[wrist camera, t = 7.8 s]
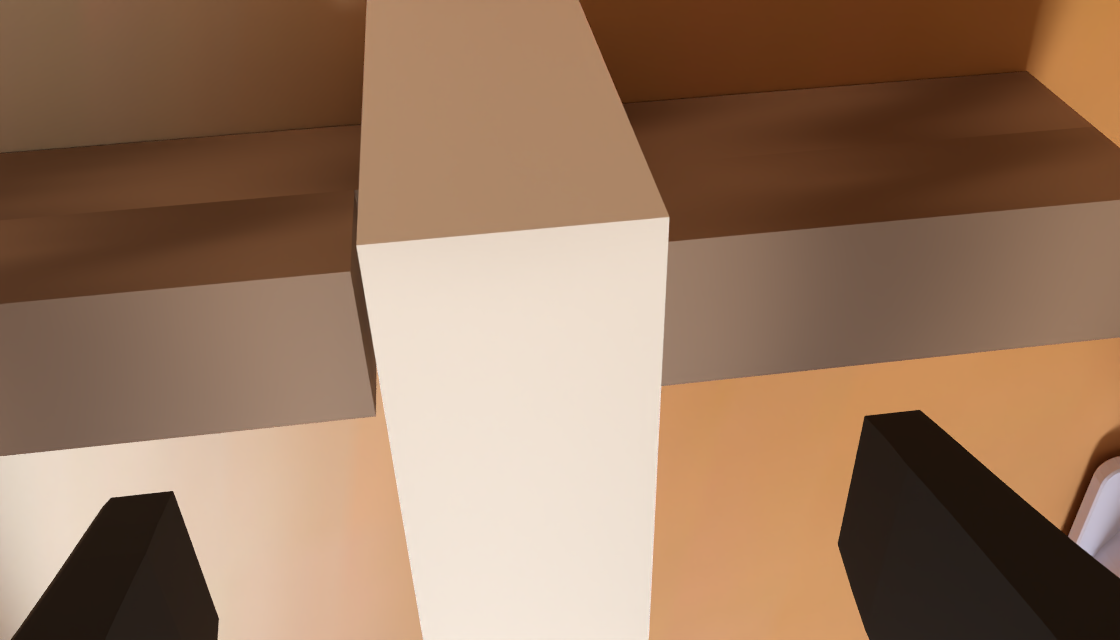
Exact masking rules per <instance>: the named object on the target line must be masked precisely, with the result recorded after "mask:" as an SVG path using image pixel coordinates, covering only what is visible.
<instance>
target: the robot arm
mask: <svg viewBox="0 0 1120 640" xmlns="http://www.w3.org/2000/svg"><path fill="white" fill-rule="evenodd" d="M838 547H839V550H840V553H841V556H842V560H843V563H844V566H845V569H846V573H847V576H848V579H849V582H850V586H851V589H852V592H853V595H854V598H855V601H856V604H857V607H858V610H859V613H860V616H861V619H862V622H863V625H864V628H865V631H866V633H867V635H868V637H869V640H1120V456H1118V457H1114V458H1111V459H1109V460H1107V461H1105V462H1104V463H1102V464H1101V465H1100V466H1099V467H1098V468H1097V470H1096V471H1095V473H1094V475H1093V477H1092V480H1091V482H1090V484H1089V487H1088V489H1087V492H1086V494H1085V496H1084V499H1083V501H1082V504H1081V506H1080V509H1079V511H1078V513H1077V516H1076V518H1075V521H1074V523H1073V526H1072V528H1071V530H1070V533H1069V535H1068V536H1067V535H1065V534H1064V533H1063V532H1062V531H1060V530H1059V529H1058V528H1057V527H1056V526H1054V525H1053V524H1052V523H1051V522H1050V521H1048V520H1047V519H1046V518H1045V517H1044V516H1042V515H1041V514H1040V513H1039V512H1038V511H1036V510H1035V509H1034V508H1033V507H1032V506H1031V505H1029V504H1028V503H1027V502H1026V501H1025V500H1023V499H1022V498H1021V497H1020V496H1019V495H1018V494H1017V493H1015V492H1014V491H1013V490H1012V489H1011V488H1010V487H1008V486H1007V485H1006V484H1005V483H1004V482H1003V481H1001V480H1000V479H999V478H998V477H997V476H996V475H994V474H993V473H992V472H991V471H990V470H989V469H988V468H986V467H985V466H984V465H983V464H982V463H981V462H979V461H978V460H977V459H976V458H975V457H974V456H973V455H971V454H970V453H969V452H968V451H967V450H966V449H965V448H963V447H962V446H961V445H960V444H959V443H958V442H957V441H955V440H954V439H953V438H952V437H951V436H950V435H949V434H947V433H946V432H945V431H944V430H943V429H942V428H940V427H939V426H938V425H937V424H936V423H935V422H933V421H932V420H931V419H930V418H929V417H928V416H926V415H925V414H924V413H923V412H922V411H920V410H915V411H906V412H897V413H887V414H878V415H869V416H865V417H864V422H863V427H862V431H861V436H860V441H859V446H858V450H857V455H856V460H855V465H854V469H853V474H852V479H851V484H850V488H849V493H848V498H847V503H846V507H845V512H844V517H843V522H842V526H841V531H840V536H839V541H838ZM218 622H219V618H218V615H217V612H216V609H215V607H214V604H213V601H212V598H211V596H210V593H209V590H208V587H207V584H206V582H205V579H204V576H203V573H202V570H201V568H200V565H199V562H198V559H197V556H196V554H195V551H194V548H193V545H192V542H191V540H190V537H189V534H188V531H187V529H186V526H185V523H184V520H183V517H182V515H181V512H180V509H179V506H178V503H177V501H176V498H175V495H174V492H173V491H170V492H160V493H151V494H142V495H133V496H124V497H114V498H110V500H109V501H108V502H107V503H106V504H105V505H104V506H103V507H102V509H101V510H100V512H99V513H98V515H97V516H96V517H95V519H94V520H93V522H92V523H91V525H90V526H89V528H88V529H87V531H86V532H85V534H84V535H83V537H82V538H81V540H80V541H79V542H78V544H77V545H76V547H75V548H74V550H73V551H72V553H71V554H70V556H69V557H68V559H67V560H66V562H65V563H64V565H63V566H62V568H61V569H60V570H59V572H58V573H57V575H56V576H55V578H54V579H53V581H52V582H51V584H50V585H49V586H48V588H47V589H46V591H45V592H44V594H43V595H42V596H41V598H40V599H39V601H38V602H37V604H36V605H35V606H34V608H33V609H32V611H31V612H30V614H29V615H28V617H27V618H26V619H25V621H24V622H23V624H22V625H21V626H20V628H19V629H18V630H17V632H16V633H15V635H14V636H13V637H12V639H11V640H217V638H218Z"/></svg>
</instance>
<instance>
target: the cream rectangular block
mask: <svg viewBox="0 0 1120 640" xmlns="http://www.w3.org/2000/svg"><path fill="white" fill-rule="evenodd" d="M668 237H669V215H668V212H667V210H666V208H665V205H664V203H663V200H662V198H661V196H660V193H659V191H658V188H657V186H656V184H655V181H654V179H653V176H652V174H651V172H650V169H649V167H648V164H647V162H646V160H645V157H644V155H643V153H642V150H641V148H640V145H639V143H638V141H637V138H636V136H635V133H634V131H633V129H632V126H631V124H630V121H629V119H628V117H627V114H626V112H625V109H624V107H623V105H622V102H621V100H620V98H619V95H618V93H617V90H616V88H615V86H614V83H613V81H612V78H611V76H610V74H609V71H608V69H607V66H606V64H605V62H604V59H603V57H602V54H601V52H600V50H599V47H598V45H597V43H596V40H595V38H594V35H593V33H592V31H591V28H590V26H589V23H588V21H587V19H586V16H585V14H584V11H583V9H582V7H581V4H580V2H579V0H367V7H366V31H365V54H364V78H363V101H362V124H361V148H360V171H359V195H358V218H357V241H356V246H357V252H358V258H359V264H360V270H361V276H362V282H363V288H364V294H365V300H366V306H367V311H368V317H369V323H370V329H371V335H372V341H373V347H374V353H375V359H376V365H377V371H378V376H379V382H380V388H381V394H382V400H383V406H384V412H385V418H386V424H387V430H388V436H389V441H390V447H391V453H392V459H393V465H394V471H395V477H396V483H397V489H398V495H399V501H400V506H401V512H402V518H403V524H404V530H405V536H406V542H407V548H408V554H409V560H410V565H411V571H412V577H413V583H414V589H415V595H416V601H417V607H418V613H419V619H420V625H421V630H422V636H423V640H649V624H650V603H651V583H652V563H653V542H654V522H655V502H656V481H657V461H658V440H659V420H660V400H661V379H662V359H663V339H664V318H665V298H666V278H667V257H668Z"/></svg>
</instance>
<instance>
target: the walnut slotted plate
mask: <svg viewBox="0 0 1120 640" xmlns="http://www.w3.org/2000/svg"><path fill="white" fill-rule="evenodd" d="M622 105H623V107H624V109H625V112H626V114H627V117H628V119H629V121H630V124H631V126H632V129H633V131H634V133H635V136H636V138H637V141H638V143H639V145H640V148H641V150H642V153H643V155H644V157H645V160H646V162H647V164H648V167H649V169H650V172H651V174H652V176H653V179H654V181H655V184H656V186H657V188H658V191H659V193H660V196H661V198H662V200H663V203H664V205H665V208H666V210H667V212H668V215H669V237H668V257H667V278H666V298H665V318H664V339H663V359H662V379H661V386H666V385H676V384H685V383H694V382H704V381H713V380H723V379H732V378H742V377H751V376H760V375H770V374H779V373H789V372H798V371H808V370H817V369H826V368H836V367H845V366H855V365H864V364H873V363H883V362H892V361H902V360H911V359H921V358H930V357H939V356H949V355H958V354H968V353H977V352H986V351H996V350H1005V349H1015V348H1024V347H1034V346H1043V345H1052V344H1062V343H1071V342H1081V341H1090V340H1099V339H1109V338H1118V337H1120V148H1119V147H1118V146H1117V145H1115V144H1114V143H1113V142H1112V141H1111V140H1109V139H1108V138H1107V137H1106V136H1105V135H1103V134H1102V133H1101V132H1100V131H1099V130H1097V129H1096V128H1095V127H1094V126H1093V125H1091V124H1090V123H1089V122H1088V121H1086V120H1085V119H1084V118H1083V117H1082V116H1080V115H1079V114H1078V113H1077V112H1076V111H1074V110H1073V109H1072V108H1071V107H1070V106H1068V105H1067V104H1066V103H1065V102H1064V101H1062V100H1061V99H1060V98H1059V97H1058V96H1056V95H1055V94H1054V93H1053V92H1051V91H1050V90H1049V89H1048V88H1047V87H1045V86H1044V85H1043V84H1042V83H1041V82H1039V81H1038V80H1037V79H1036V78H1035V77H1033V76H1032V75H1031V74H1030V73H1029V72H1027V71H1024V72H1011V73H999V74H987V75H974V76H962V77H949V78H937V79H924V80H912V81H899V82H887V83H874V84H862V85H849V86H837V87H824V88H812V89H799V90H787V91H774V92H762V93H749V94H737V95H724V96H712V97H699V98H687V99H674V100H662V101H649V102H637V103H624V104H622ZM360 148H361V125H350V126H337V127H325V128H312V129H300V130H287V131H275V132H262V133H250V134H237V135H225V136H212V137H200V138H187V139H175V140H162V141H150V142H137V143H125V144H112V145H100V146H87V147H75V148H62V149H50V150H37V151H25V152H12V153H0V456H7V455H16V454H26V453H35V452H45V451H54V450H63V449H73V448H82V447H92V446H101V445H111V444H120V443H129V442H139V441H148V440H158V439H167V438H176V437H186V436H195V435H205V434H214V433H224V432H233V431H242V430H252V429H261V428H271V427H280V426H289V425H299V424H308V423H318V422H327V421H337V420H346V419H355V418H365V417H374V416H376V359H375V353H374V347H373V341H372V335H371V329H370V323H369V317H368V311H367V306H366V300H365V294H364V288H363V282H362V276H361V270H360V264H359V258H358V252H357V246H356V241H357V218H358V195H359V171H360Z"/></svg>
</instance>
